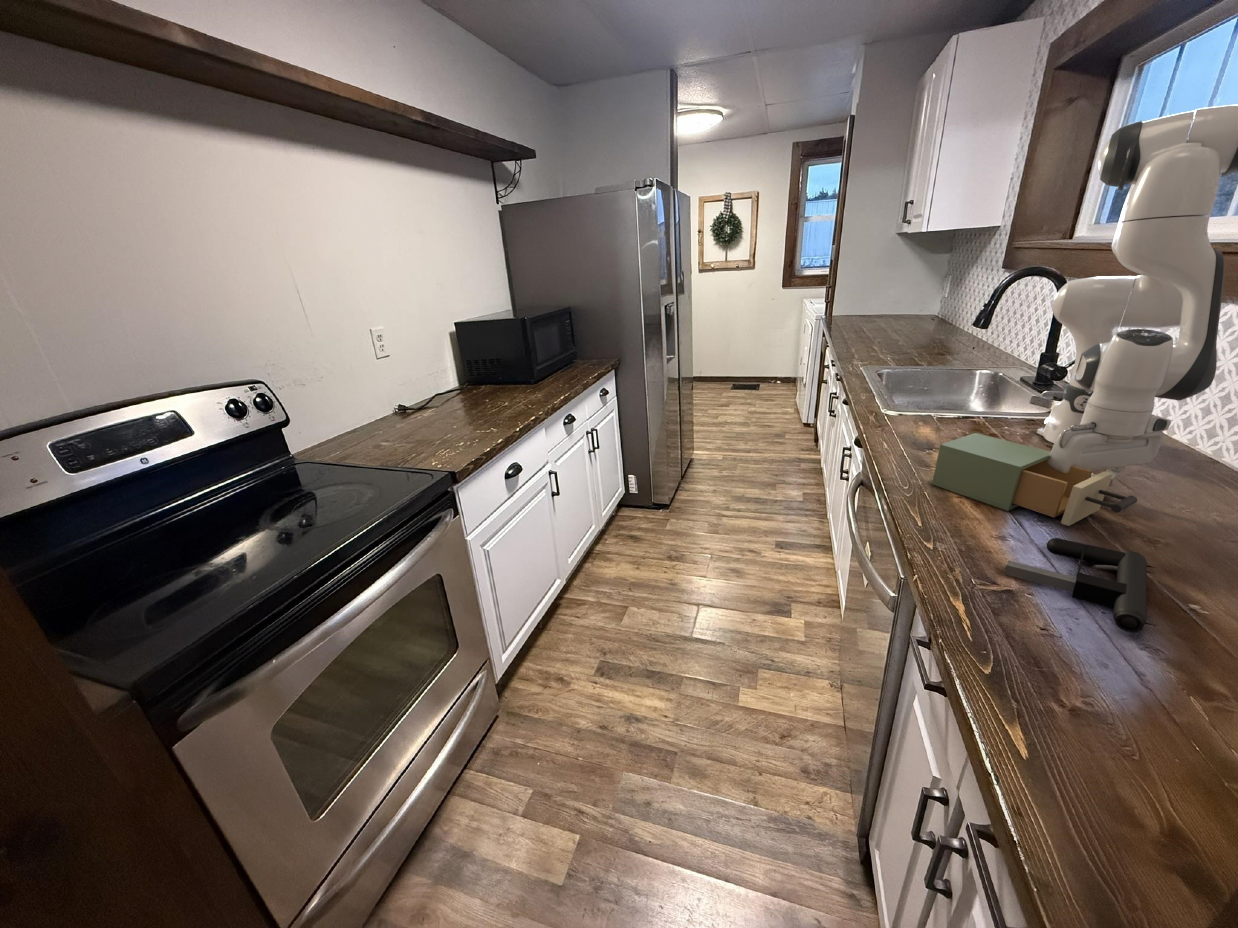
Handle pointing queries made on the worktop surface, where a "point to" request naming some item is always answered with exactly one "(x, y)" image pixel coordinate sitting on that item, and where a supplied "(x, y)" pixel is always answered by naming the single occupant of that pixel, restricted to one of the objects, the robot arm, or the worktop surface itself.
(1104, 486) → the drawer
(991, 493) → the cabinet
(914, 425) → the worktop surface
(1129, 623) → the door handle
